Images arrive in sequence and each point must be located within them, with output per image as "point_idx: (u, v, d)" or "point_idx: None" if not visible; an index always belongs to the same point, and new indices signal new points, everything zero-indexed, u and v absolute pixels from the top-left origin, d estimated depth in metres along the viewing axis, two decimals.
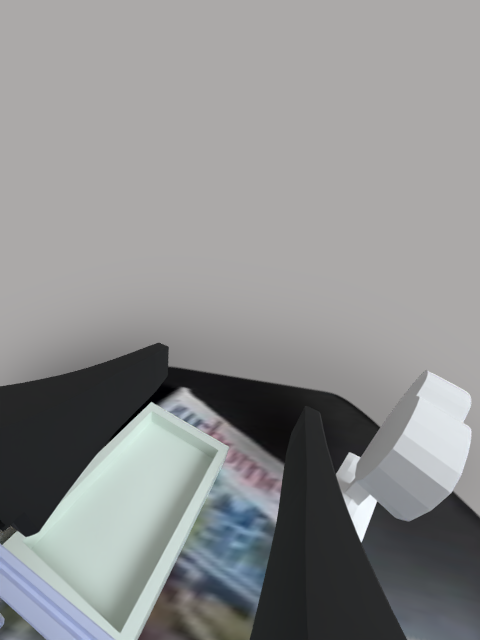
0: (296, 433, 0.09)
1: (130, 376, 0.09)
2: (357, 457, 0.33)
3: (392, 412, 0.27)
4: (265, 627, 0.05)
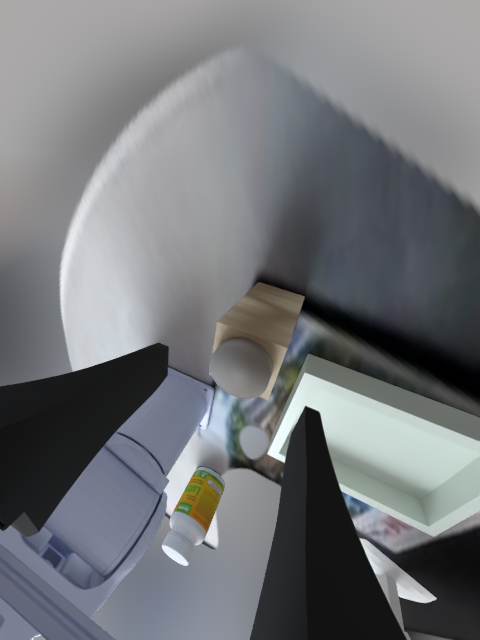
0: (296, 433, 0.09)
1: (130, 376, 0.09)
2: (429, 600, 0.29)
3: None
4: (265, 627, 0.05)
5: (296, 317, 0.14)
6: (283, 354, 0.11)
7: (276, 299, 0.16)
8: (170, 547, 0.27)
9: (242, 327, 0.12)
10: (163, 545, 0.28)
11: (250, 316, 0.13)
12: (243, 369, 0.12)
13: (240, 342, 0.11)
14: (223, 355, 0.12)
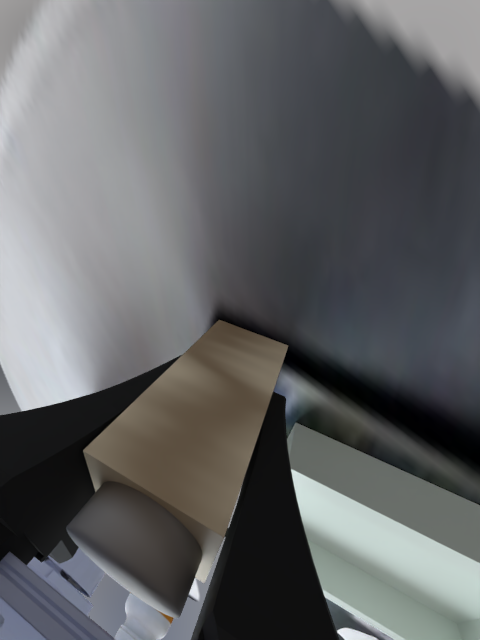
0: None
1: None
2: None
3: None
4: (210, 589, 0.06)
5: (265, 405, 0.08)
6: (217, 542, 0.05)
7: (238, 359, 0.10)
8: None
9: (137, 463, 0.06)
10: None
11: (172, 416, 0.07)
12: (127, 573, 0.05)
13: (118, 515, 0.05)
14: (84, 538, 0.05)
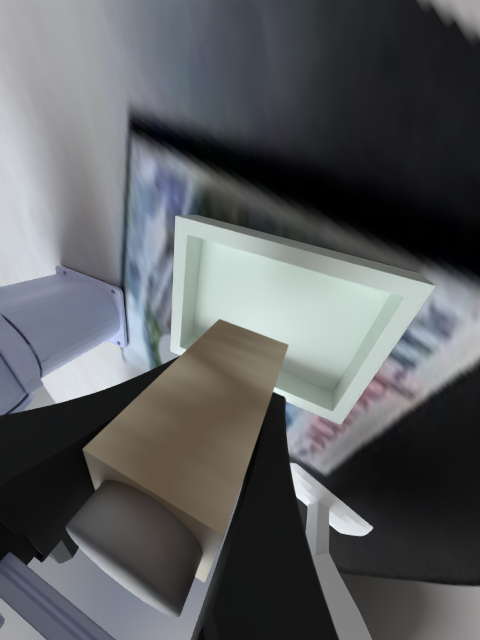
0: None
1: None
2: (366, 531, 0.26)
3: None
4: (210, 589, 0.06)
5: (266, 404, 0.08)
6: (217, 540, 0.05)
7: (238, 358, 0.10)
8: None
9: (137, 461, 0.06)
10: None
11: (172, 415, 0.07)
12: (127, 572, 0.05)
13: (118, 513, 0.05)
14: (84, 537, 0.05)
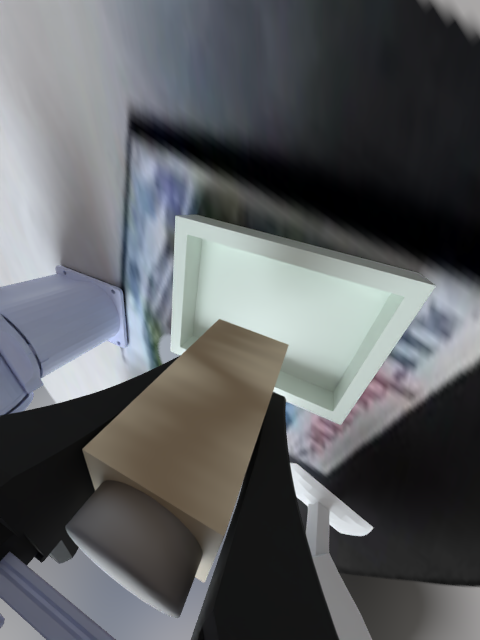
0: None
1: None
2: (367, 531, 0.26)
3: None
4: (210, 589, 0.06)
5: (266, 404, 0.08)
6: (217, 541, 0.05)
7: (238, 357, 0.10)
8: None
9: (137, 462, 0.06)
10: None
11: (172, 415, 0.07)
12: (126, 573, 0.05)
13: (118, 513, 0.05)
14: (83, 537, 0.05)
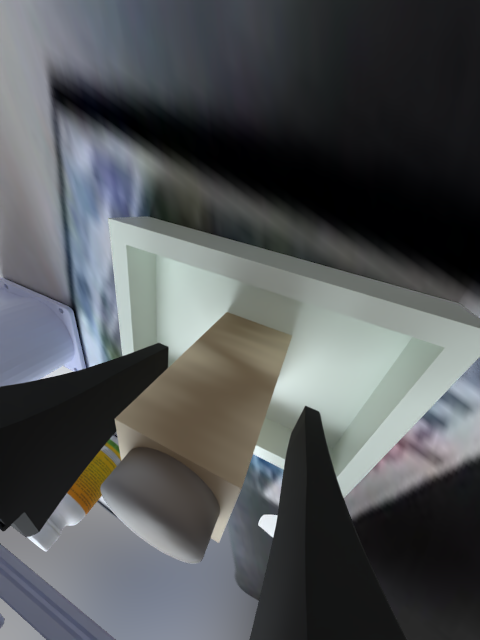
0: (296, 433, 0.09)
1: (130, 376, 0.09)
2: None
3: None
4: (265, 627, 0.05)
5: (273, 386, 0.09)
6: (235, 494, 0.06)
7: (246, 346, 0.11)
8: None
9: (163, 430, 0.06)
10: None
11: (189, 393, 0.08)
12: (156, 522, 0.06)
13: (149, 471, 0.06)
14: (118, 492, 0.06)
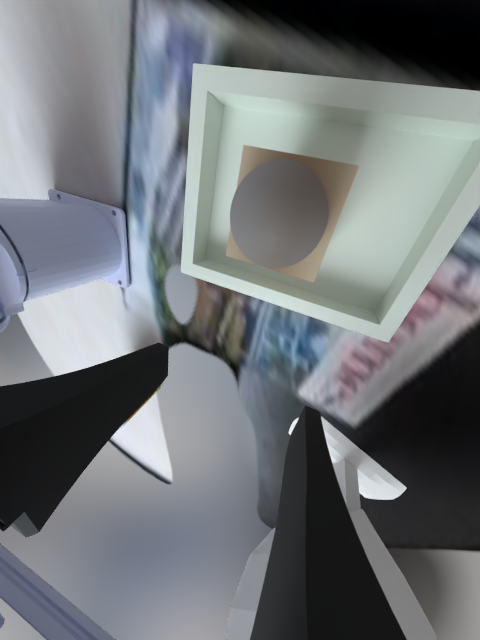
0: (296, 433, 0.09)
1: (130, 376, 0.09)
2: (398, 492, 0.23)
3: None
4: (265, 627, 0.05)
5: None
6: (350, 181, 0.07)
7: None
8: None
9: (282, 153, 0.08)
10: None
11: None
12: (286, 206, 0.07)
13: None
14: (254, 186, 0.07)
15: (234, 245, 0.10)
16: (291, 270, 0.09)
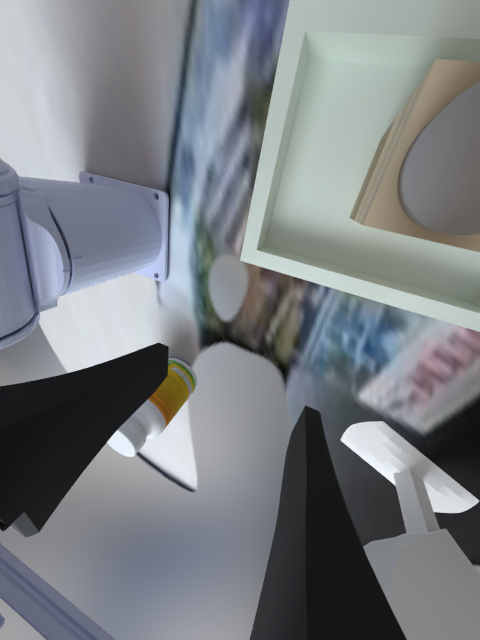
0: (296, 433, 0.09)
1: (130, 376, 0.09)
2: (468, 505, 0.21)
3: None
4: (265, 627, 0.05)
5: None
6: None
7: None
8: None
9: None
10: None
11: None
12: None
13: None
14: (470, 111, 0.05)
15: (380, 210, 0.07)
16: (465, 241, 0.07)
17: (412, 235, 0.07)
